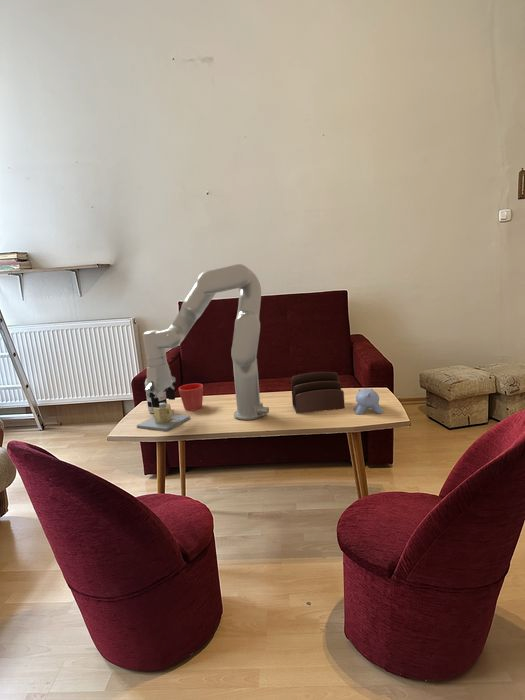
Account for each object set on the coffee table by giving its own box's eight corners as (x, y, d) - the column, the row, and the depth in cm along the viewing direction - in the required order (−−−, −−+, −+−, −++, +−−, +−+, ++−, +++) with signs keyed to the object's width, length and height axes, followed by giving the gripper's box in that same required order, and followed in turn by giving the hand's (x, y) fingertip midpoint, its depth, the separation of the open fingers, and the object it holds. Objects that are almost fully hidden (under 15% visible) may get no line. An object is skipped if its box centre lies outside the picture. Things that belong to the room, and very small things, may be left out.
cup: (151, 422, 180) (149, 408, 179) (162, 417, 185) (160, 403, 184) (168, 424, 176) (167, 409, 175) (179, 418, 181) (177, 404, 180)
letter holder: (292, 406, 189) (290, 374, 187) (338, 402, 191) (337, 369, 188) (296, 414, 180) (293, 379, 177) (345, 409, 181) (343, 375, 178)
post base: (190, 418, 184) (188, 399, 183) (166, 431, 171) (164, 411, 170) (161, 415, 191) (159, 397, 190) (136, 427, 178) (134, 408, 177)
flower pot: (176, 411, 195) (173, 389, 194) (188, 403, 206) (186, 383, 204) (198, 412, 192) (195, 390, 190) (209, 404, 202) (207, 383, 200)
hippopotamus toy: (378, 403, 184) (377, 380, 183) (385, 415, 170) (384, 391, 168) (351, 404, 185) (350, 382, 184) (356, 416, 171) (355, 392, 169)
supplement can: (147, 410, 200) (143, 377, 197) (166, 407, 203) (162, 374, 200) (149, 415, 193) (145, 381, 190) (169, 412, 195) (165, 378, 193)
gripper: (163, 356, 186) (170, 396, 189) (134, 367, 171) (142, 410, 174) (178, 356, 183) (184, 396, 186) (149, 367, 167) (157, 410, 171)
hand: (164, 403), depth 180 cm, fingers open, 9 cm apart
